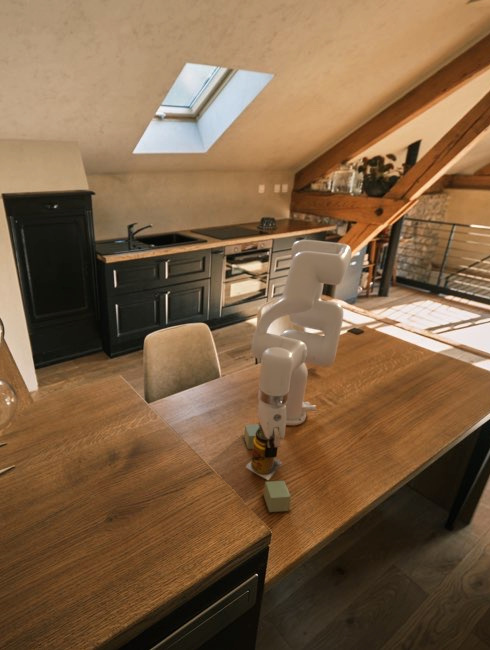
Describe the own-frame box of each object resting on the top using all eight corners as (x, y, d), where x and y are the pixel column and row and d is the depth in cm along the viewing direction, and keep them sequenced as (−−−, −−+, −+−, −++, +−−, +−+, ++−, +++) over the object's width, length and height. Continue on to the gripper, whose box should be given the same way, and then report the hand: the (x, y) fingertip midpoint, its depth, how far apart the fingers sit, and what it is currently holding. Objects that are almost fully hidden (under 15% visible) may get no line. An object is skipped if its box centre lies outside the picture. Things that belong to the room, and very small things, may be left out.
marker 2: (281, 494, 101) (284, 480, 99) (288, 511, 97) (290, 496, 95) (263, 495, 101) (265, 481, 99) (269, 512, 96) (271, 497, 94)
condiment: (244, 467, 108) (248, 434, 104) (259, 450, 114) (263, 418, 109) (268, 481, 104) (272, 447, 99) (282, 463, 110) (287, 430, 105)
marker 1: (259, 436, 122) (260, 424, 120) (263, 448, 117) (265, 435, 115) (243, 437, 121) (245, 425, 119) (247, 449, 117) (249, 436, 115)
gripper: (299, 414, 91) (290, 471, 98) (276, 374, 107) (270, 426, 114) (268, 416, 91) (261, 472, 98) (250, 375, 106) (245, 427, 114)
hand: (266, 447), depth 106 cm, fingers closed on condiment, 6 cm apart
